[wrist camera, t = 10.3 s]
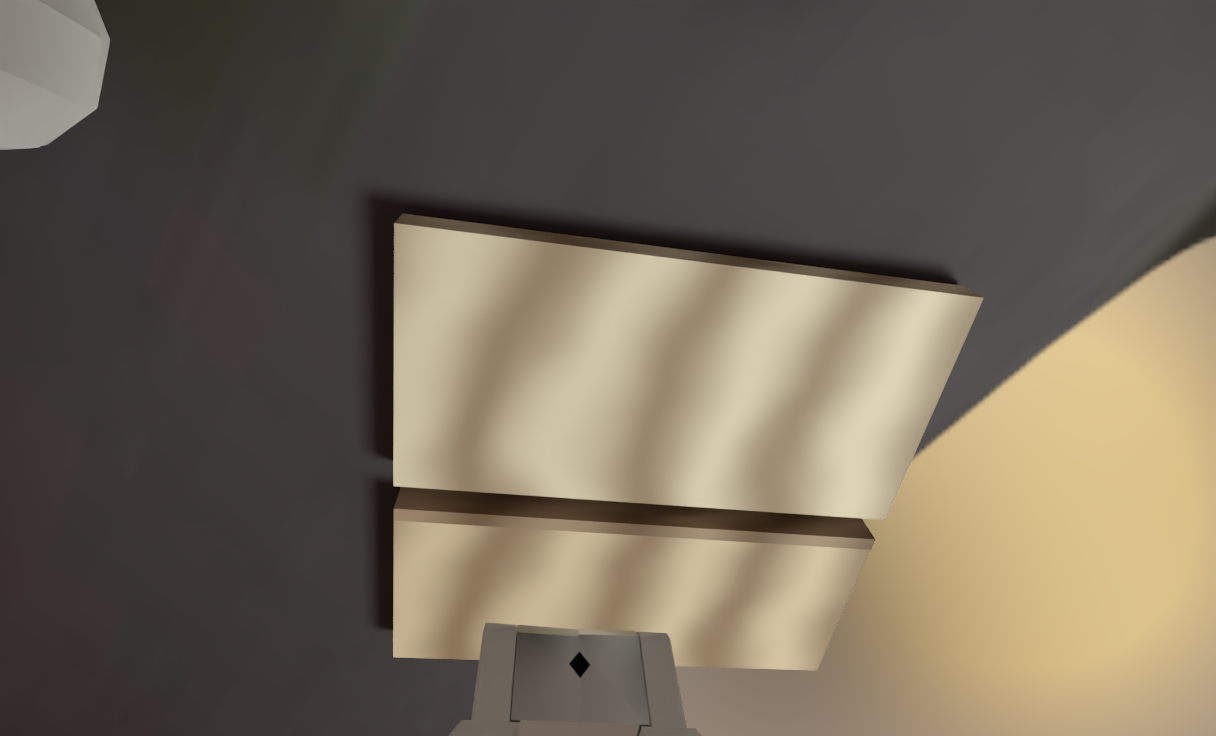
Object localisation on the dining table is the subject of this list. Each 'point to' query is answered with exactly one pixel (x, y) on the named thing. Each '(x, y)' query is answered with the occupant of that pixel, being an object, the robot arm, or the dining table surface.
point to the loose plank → (660, 372)
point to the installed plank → (621, 575)
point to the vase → (48, 68)
